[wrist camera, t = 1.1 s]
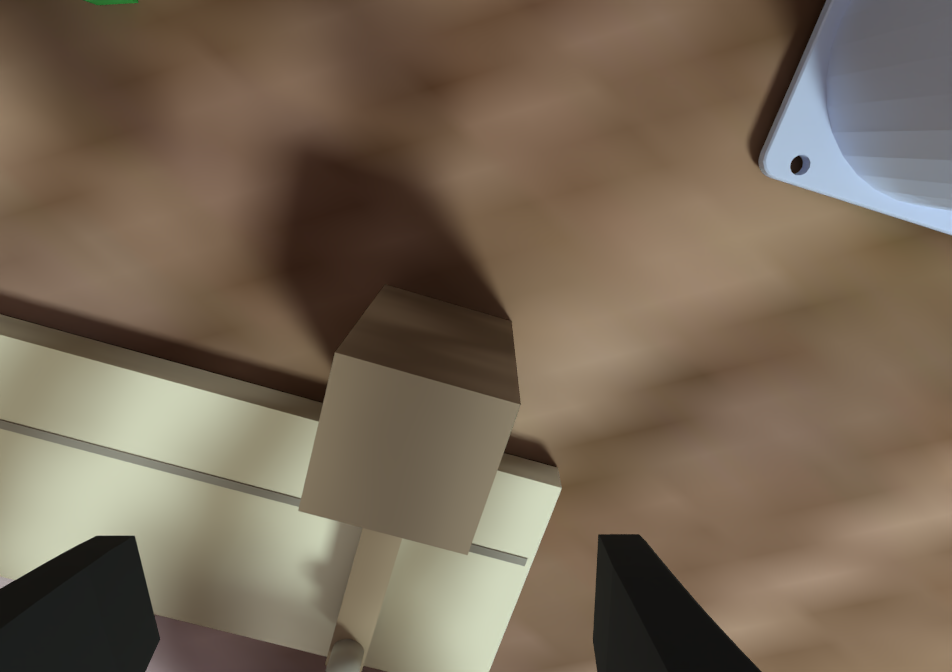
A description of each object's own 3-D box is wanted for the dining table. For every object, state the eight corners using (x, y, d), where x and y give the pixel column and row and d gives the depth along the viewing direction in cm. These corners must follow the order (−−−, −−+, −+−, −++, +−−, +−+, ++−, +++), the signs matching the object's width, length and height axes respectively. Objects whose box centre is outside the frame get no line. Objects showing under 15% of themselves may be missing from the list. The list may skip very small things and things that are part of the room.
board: (557, 468, 20) (562, 488, 18) (480, 666, 22) (479, 695, 21) (-23, 308, 18) (-58, 319, 17) (-28, 539, 21) (-59, 563, 20)
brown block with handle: (511, 321, 18) (520, 404, 12) (413, 617, 22) (386, 787, 16) (384, 284, 18) (334, 352, 12) (307, 590, 21) (242, 753, 16)
